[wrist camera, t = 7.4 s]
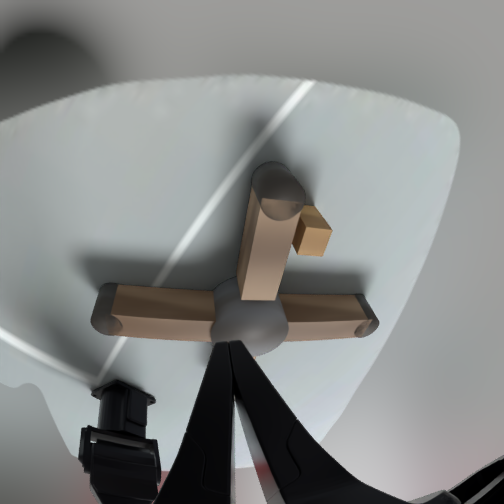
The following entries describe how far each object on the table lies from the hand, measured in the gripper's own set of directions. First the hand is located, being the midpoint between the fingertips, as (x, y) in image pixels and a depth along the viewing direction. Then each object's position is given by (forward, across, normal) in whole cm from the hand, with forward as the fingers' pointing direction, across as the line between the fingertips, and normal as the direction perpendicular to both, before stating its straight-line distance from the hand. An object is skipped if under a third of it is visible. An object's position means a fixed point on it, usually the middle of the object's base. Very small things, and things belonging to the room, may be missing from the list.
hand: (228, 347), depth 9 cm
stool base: (+12, -2, +11) cm, 16 cm away
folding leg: (+11, -3, +2) cm, 12 cm away
